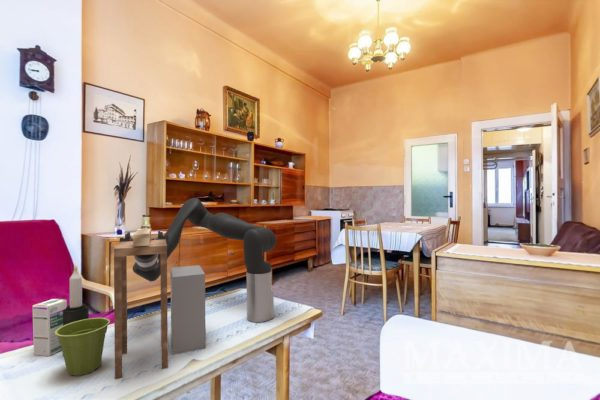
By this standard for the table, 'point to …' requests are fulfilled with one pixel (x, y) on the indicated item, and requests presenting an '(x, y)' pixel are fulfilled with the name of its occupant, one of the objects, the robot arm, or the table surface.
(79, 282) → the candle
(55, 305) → the syrup box
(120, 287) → the walnut stool
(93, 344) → the plant pot
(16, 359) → the table surface
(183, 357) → the table surface
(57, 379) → the table surface
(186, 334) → the grey rectangular block
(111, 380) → the table surface
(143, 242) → the birch bar
